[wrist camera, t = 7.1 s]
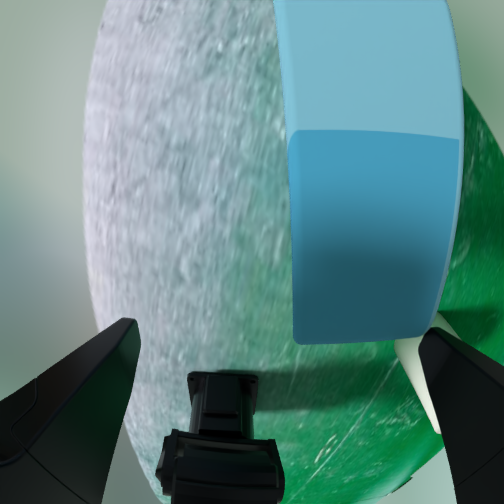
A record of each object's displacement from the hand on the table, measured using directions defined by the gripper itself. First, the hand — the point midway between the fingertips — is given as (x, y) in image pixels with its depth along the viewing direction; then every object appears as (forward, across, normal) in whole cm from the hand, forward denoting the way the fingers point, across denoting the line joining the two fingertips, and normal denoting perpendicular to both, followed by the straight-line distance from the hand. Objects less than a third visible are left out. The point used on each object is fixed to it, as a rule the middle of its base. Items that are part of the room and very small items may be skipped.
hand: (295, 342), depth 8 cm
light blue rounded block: (+12, -3, -5) cm, 13 cm away
